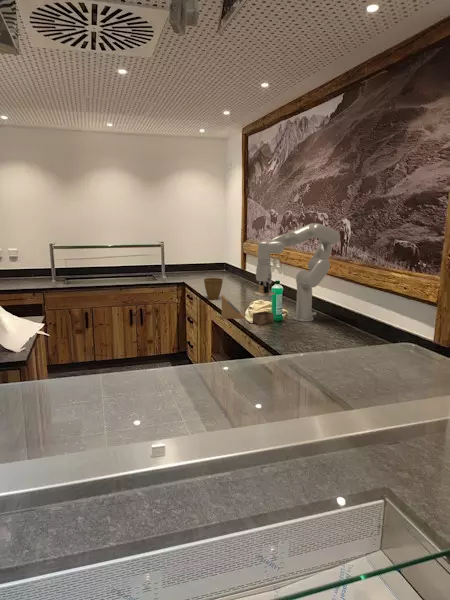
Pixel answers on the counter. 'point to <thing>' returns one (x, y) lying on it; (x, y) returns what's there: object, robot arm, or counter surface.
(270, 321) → the box
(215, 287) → the plant pot
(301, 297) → the robot arm
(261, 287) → the lid
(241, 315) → the sandwich container
